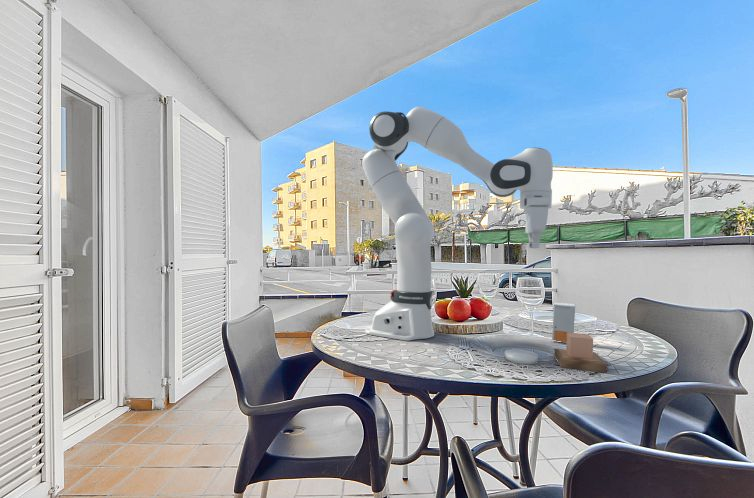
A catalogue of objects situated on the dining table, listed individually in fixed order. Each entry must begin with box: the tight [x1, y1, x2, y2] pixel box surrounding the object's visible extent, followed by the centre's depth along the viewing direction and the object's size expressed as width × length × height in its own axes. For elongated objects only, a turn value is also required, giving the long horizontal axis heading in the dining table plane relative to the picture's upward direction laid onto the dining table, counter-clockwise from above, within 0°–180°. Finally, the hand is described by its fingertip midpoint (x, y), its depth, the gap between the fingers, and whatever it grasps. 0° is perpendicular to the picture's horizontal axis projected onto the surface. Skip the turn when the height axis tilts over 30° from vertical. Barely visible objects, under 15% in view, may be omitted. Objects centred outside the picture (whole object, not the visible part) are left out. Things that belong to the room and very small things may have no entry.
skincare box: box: [551, 302, 576, 343], centre depth 116 cm, size 6×4×12 cm
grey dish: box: [504, 348, 538, 365], centre depth 97 cm, size 8×8×2 cm
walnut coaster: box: [553, 348, 608, 373], centre depth 95 cm, size 10×10×2 cm
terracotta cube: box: [565, 332, 594, 359], centre depth 95 cm, size 5×5×5 cm
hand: (533, 248), depth 113 cm, fingers open, 8 cm apart
